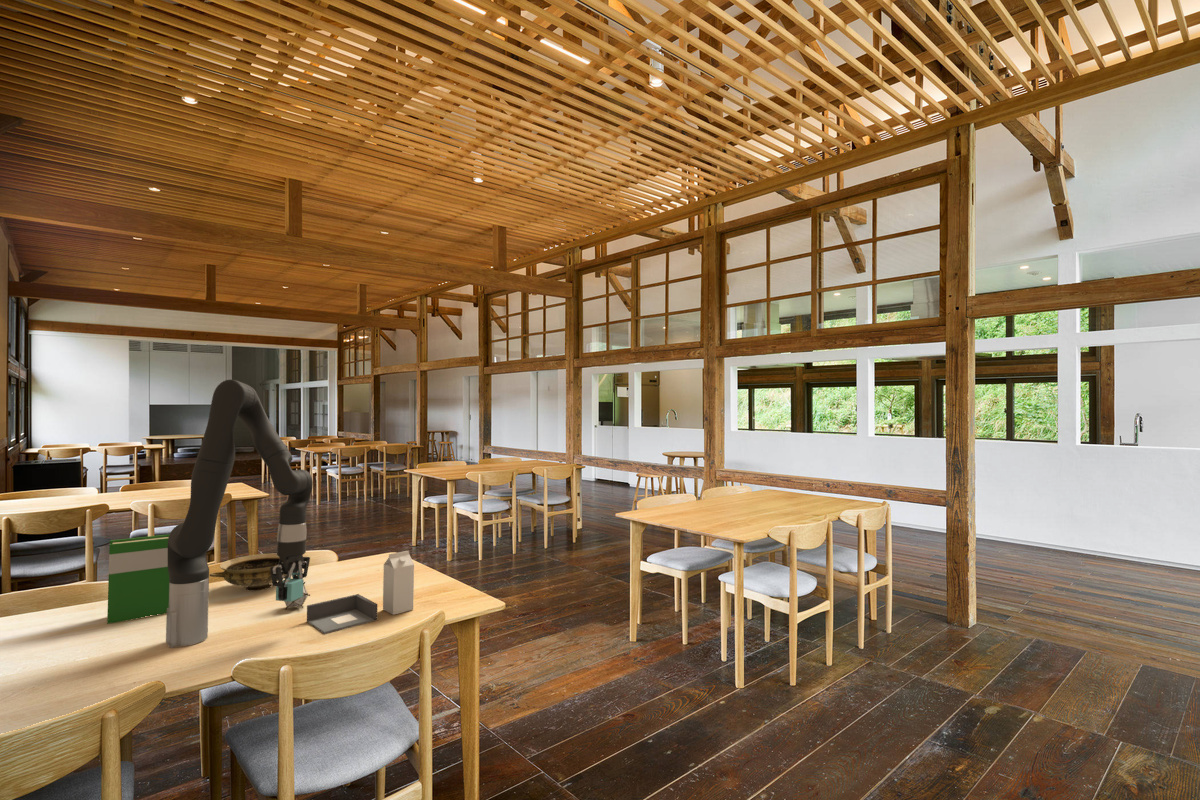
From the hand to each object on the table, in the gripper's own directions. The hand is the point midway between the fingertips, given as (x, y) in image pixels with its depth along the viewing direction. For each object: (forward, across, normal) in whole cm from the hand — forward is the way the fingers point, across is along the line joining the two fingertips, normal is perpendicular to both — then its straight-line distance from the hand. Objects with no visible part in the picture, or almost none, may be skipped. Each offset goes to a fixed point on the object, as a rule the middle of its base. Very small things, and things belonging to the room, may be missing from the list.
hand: (289, 596), depth 167 cm
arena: (+11, +13, -8) cm, 19 cm away
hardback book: (+12, +6, +57) cm, 58 cm away
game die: (+11, +21, +14) cm, 28 cm away
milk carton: (+11, +26, -20) cm, 35 cm away
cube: (0, 0, 0) cm, 0 cm away
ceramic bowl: (+11, +37, +42) cm, 57 cm away
